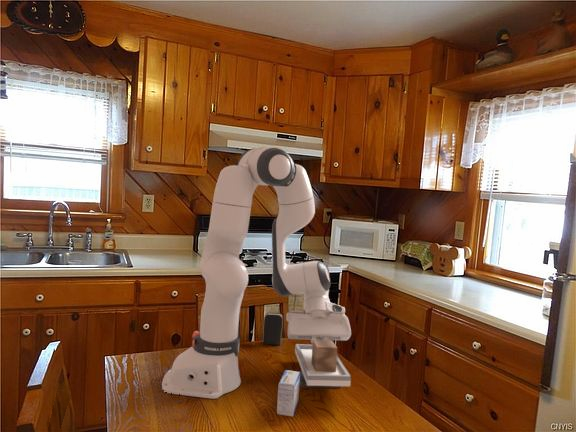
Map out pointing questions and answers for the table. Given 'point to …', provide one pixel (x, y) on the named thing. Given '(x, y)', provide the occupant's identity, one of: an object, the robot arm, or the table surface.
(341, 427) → the table surface
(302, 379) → the pivot stand
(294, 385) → the medicine box
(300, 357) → the white flat rectangular tray
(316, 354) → the walnut block
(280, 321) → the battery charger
